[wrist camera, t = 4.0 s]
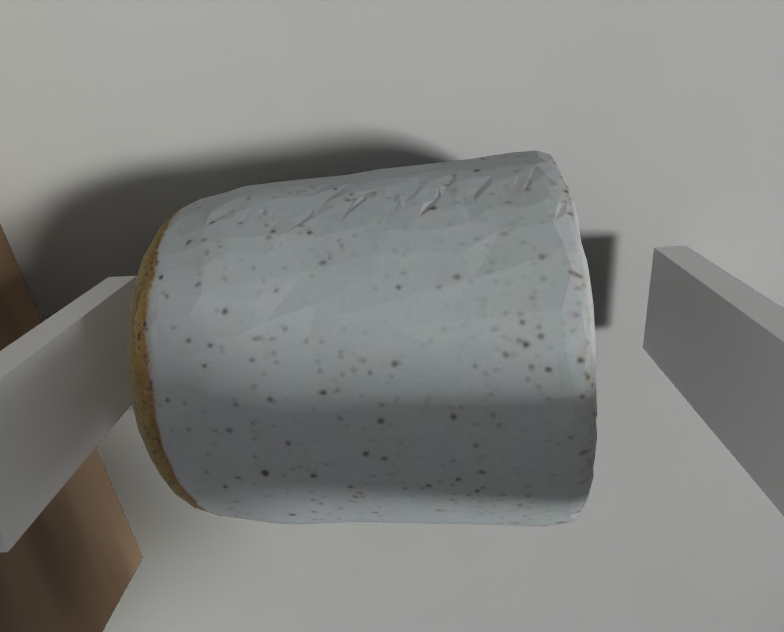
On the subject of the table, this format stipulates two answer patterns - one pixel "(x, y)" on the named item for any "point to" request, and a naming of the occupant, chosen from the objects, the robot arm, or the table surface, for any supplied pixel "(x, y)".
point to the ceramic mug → (373, 348)
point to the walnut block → (62, 523)
